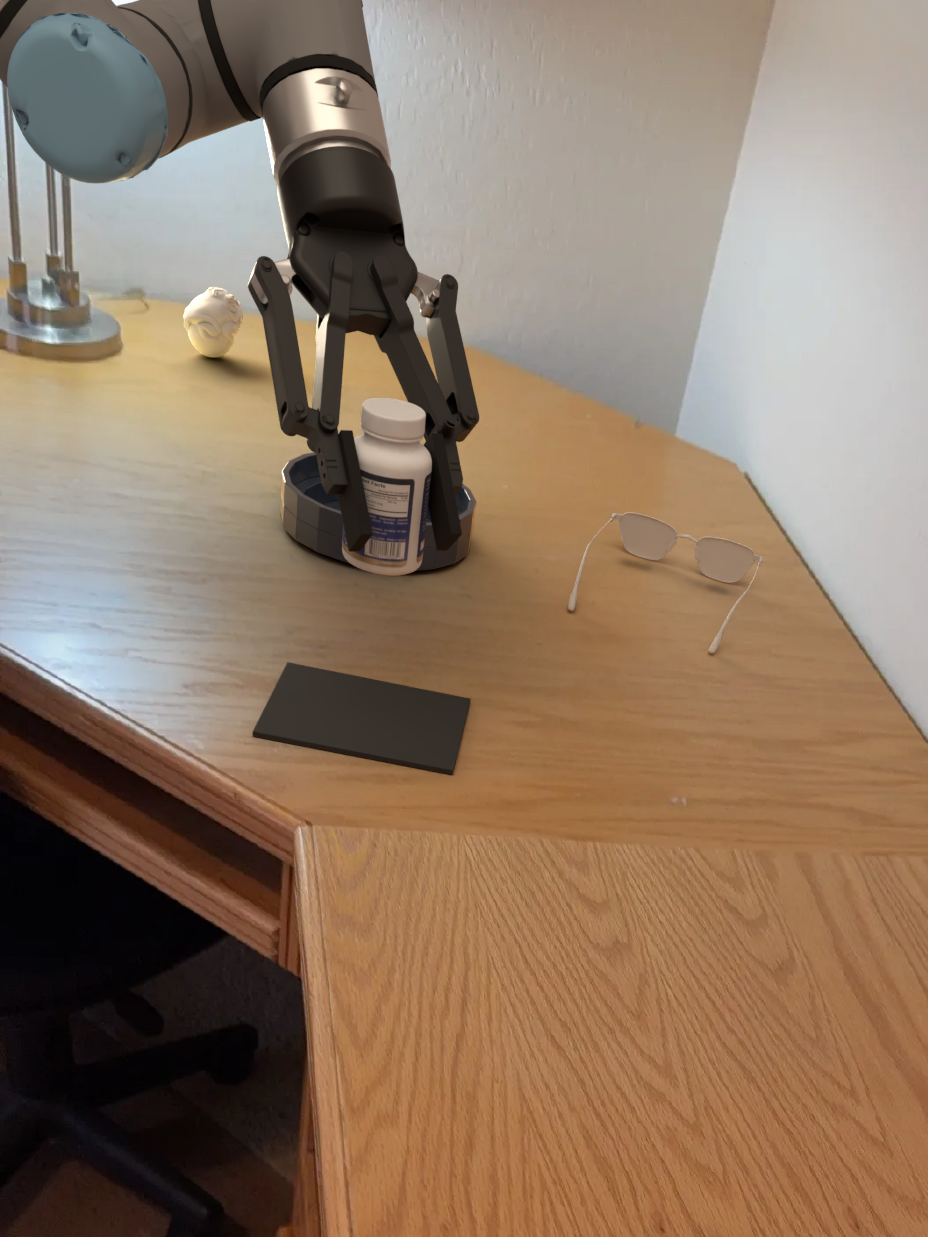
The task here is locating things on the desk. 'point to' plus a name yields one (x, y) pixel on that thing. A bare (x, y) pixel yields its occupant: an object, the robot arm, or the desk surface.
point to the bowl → (322, 524)
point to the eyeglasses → (660, 537)
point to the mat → (365, 718)
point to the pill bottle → (393, 486)
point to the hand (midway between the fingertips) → (405, 542)
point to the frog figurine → (213, 321)
